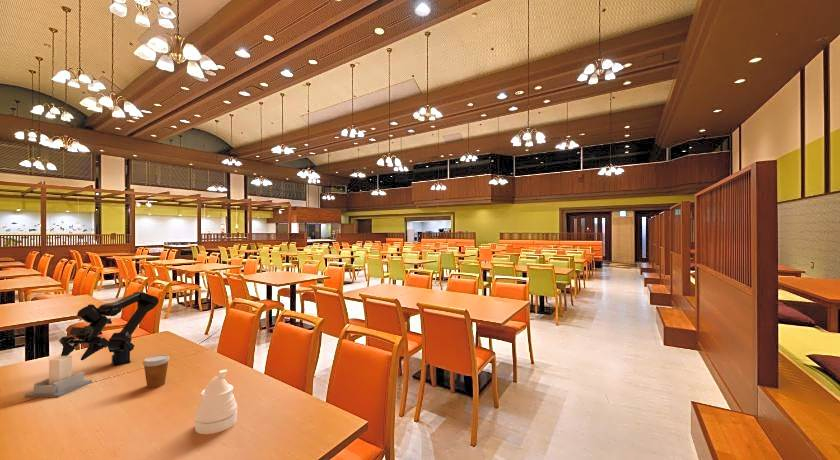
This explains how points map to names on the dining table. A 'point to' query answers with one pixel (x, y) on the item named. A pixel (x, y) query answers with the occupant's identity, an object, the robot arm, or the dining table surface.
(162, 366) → the disposable coffee cup
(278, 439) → the dining table surface
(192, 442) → the dining table surface
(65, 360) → the cream block
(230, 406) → the honey pot
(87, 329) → the robot arm
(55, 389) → the slot rack
